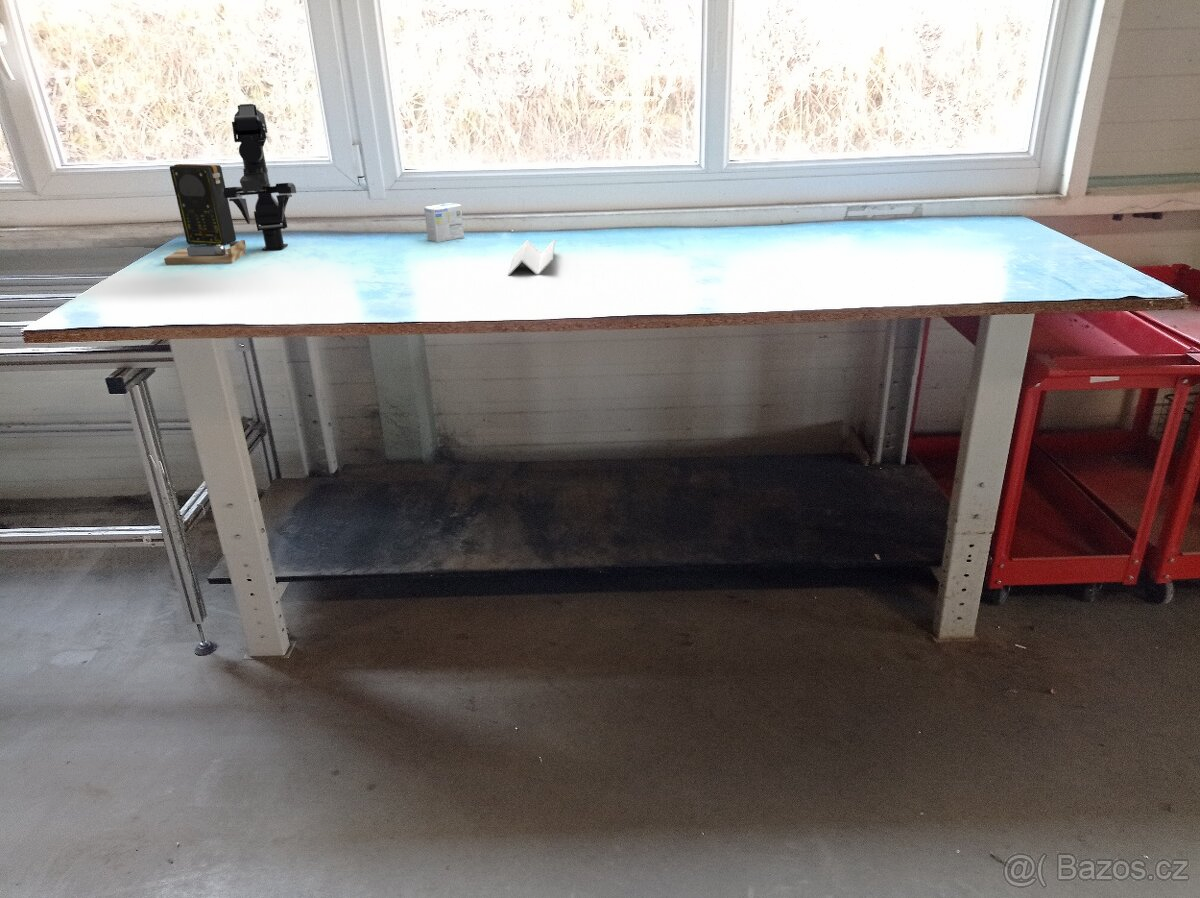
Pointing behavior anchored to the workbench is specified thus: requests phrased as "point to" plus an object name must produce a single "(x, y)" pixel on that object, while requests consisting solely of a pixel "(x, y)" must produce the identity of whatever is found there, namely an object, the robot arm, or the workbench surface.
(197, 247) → the bar
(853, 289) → the workbench surface
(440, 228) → the light bulb box
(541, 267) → the z bracket
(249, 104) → the robot arm
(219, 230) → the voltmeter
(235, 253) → the door board
